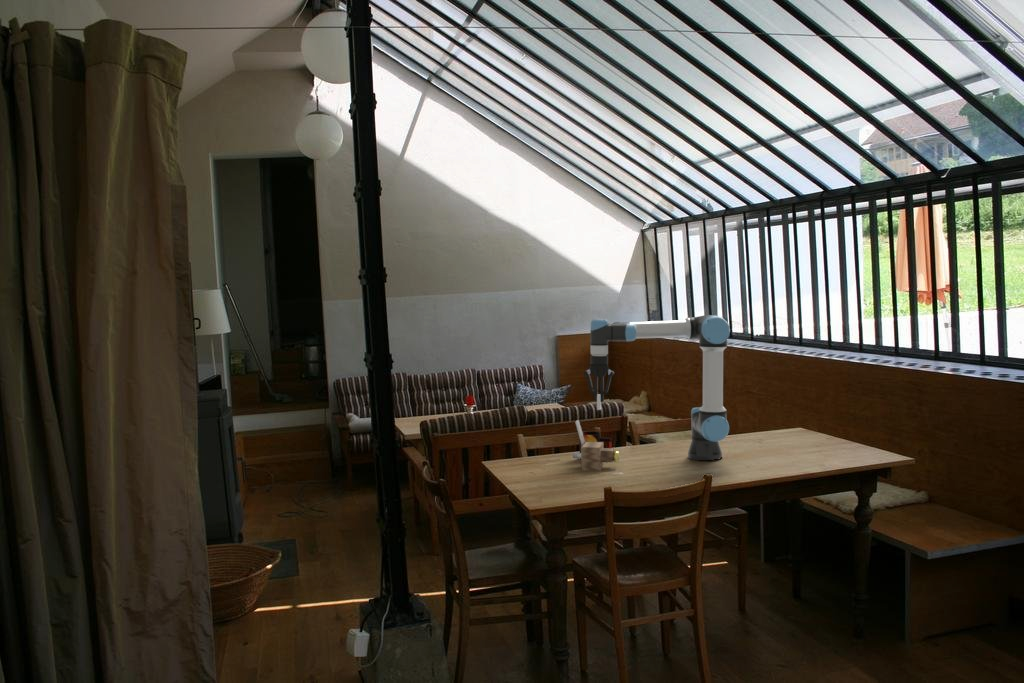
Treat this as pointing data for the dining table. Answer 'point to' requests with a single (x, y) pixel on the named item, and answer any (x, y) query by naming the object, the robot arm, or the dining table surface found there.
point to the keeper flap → (580, 431)
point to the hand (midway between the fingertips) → (599, 409)
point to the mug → (593, 438)
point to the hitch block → (595, 455)
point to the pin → (615, 456)
